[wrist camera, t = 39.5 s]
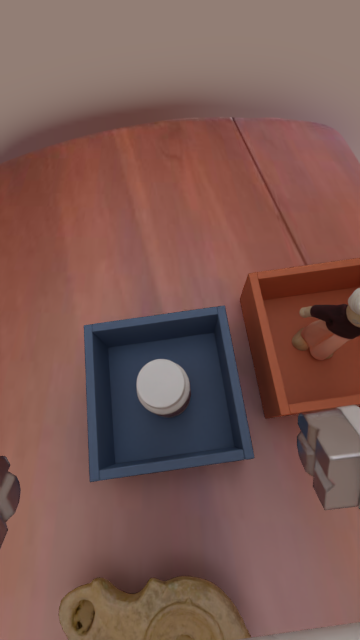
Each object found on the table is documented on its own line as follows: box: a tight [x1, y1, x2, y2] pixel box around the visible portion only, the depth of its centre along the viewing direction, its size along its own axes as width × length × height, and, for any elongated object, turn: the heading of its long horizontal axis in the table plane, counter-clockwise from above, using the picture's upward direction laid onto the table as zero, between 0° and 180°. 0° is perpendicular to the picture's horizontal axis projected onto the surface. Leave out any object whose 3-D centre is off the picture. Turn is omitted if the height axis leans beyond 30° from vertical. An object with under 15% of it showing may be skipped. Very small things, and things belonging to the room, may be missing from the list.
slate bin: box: [84, 306, 254, 482], centre depth 32 cm, size 14×14×7 cm
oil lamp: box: [59, 576, 251, 640], centre depth 26 cm, size 11×14×5 cm
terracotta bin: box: [240, 258, 360, 418], centre depth 33 cm, size 15×14×7 cm
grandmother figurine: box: [292, 288, 360, 360], centre depth 29 cm, size 8×4×13 cm, turn 77°
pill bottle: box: [136, 359, 191, 418], centre depth 30 cm, size 5×5×8 cm
